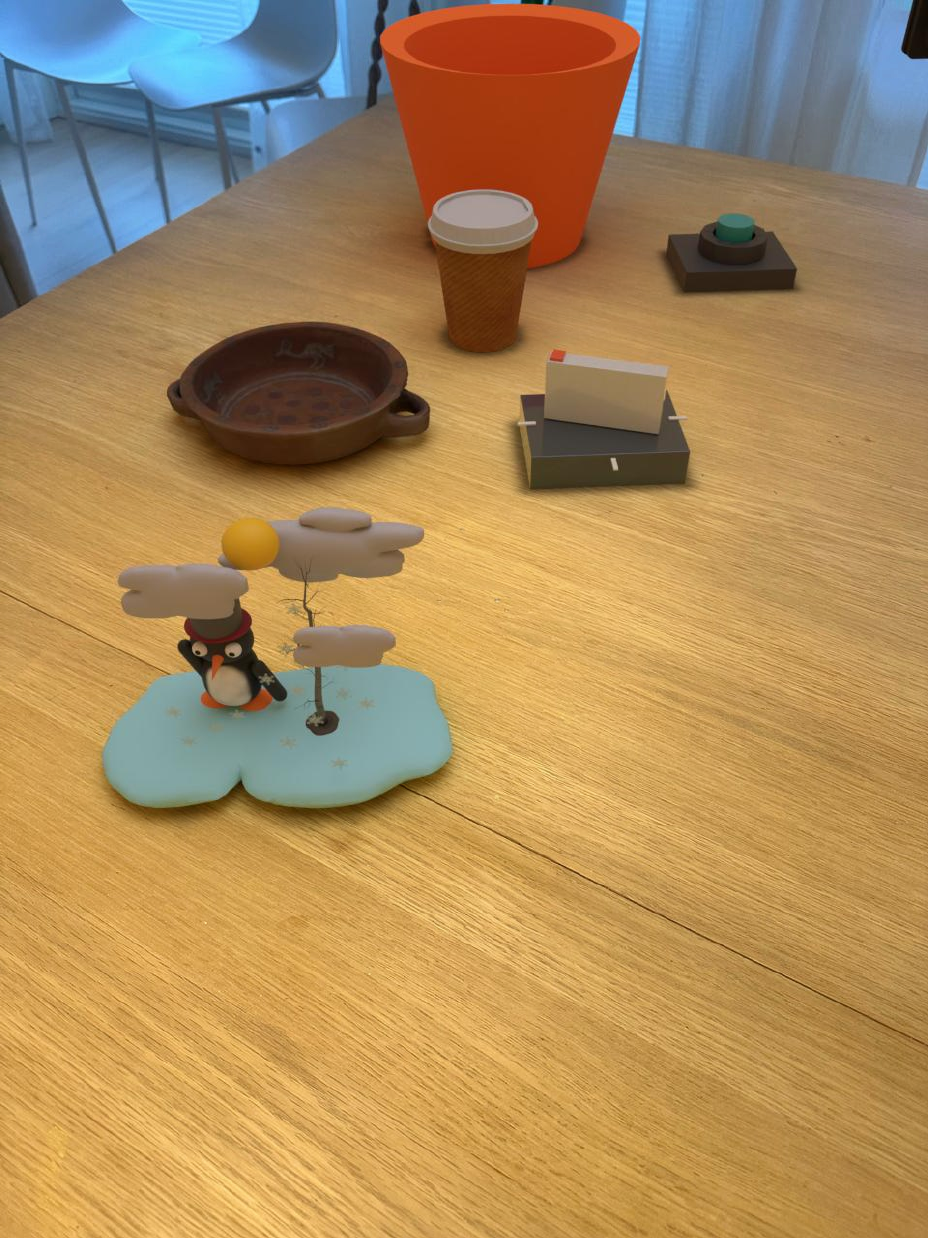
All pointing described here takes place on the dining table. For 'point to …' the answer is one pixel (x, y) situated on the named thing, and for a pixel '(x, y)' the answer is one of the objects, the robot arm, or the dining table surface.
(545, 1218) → the dining table surface
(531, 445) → the base
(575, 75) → the flowerpot
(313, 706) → the penguin figurine
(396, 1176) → the dining table surface
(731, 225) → the teal button
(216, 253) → the dining table surface
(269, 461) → the dish
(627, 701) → the dining table surface
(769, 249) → the switch box
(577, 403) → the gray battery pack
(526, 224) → the disposable coffee cup
